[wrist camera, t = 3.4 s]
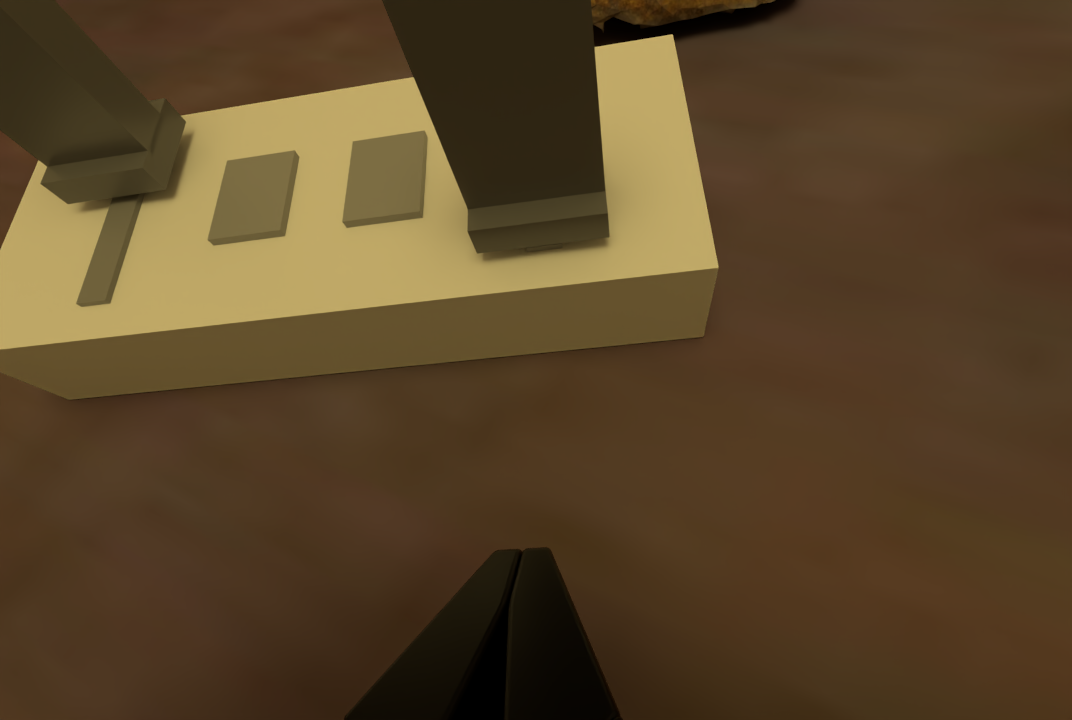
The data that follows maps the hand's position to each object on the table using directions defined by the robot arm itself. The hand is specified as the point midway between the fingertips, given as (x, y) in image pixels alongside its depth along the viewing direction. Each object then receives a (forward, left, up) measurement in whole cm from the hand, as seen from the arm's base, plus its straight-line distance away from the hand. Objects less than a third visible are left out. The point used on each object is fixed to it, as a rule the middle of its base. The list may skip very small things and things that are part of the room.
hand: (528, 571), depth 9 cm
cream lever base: (+2, +14, -8) cm, 16 cm away
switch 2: (+6, +8, -4) cm, 11 cm away
